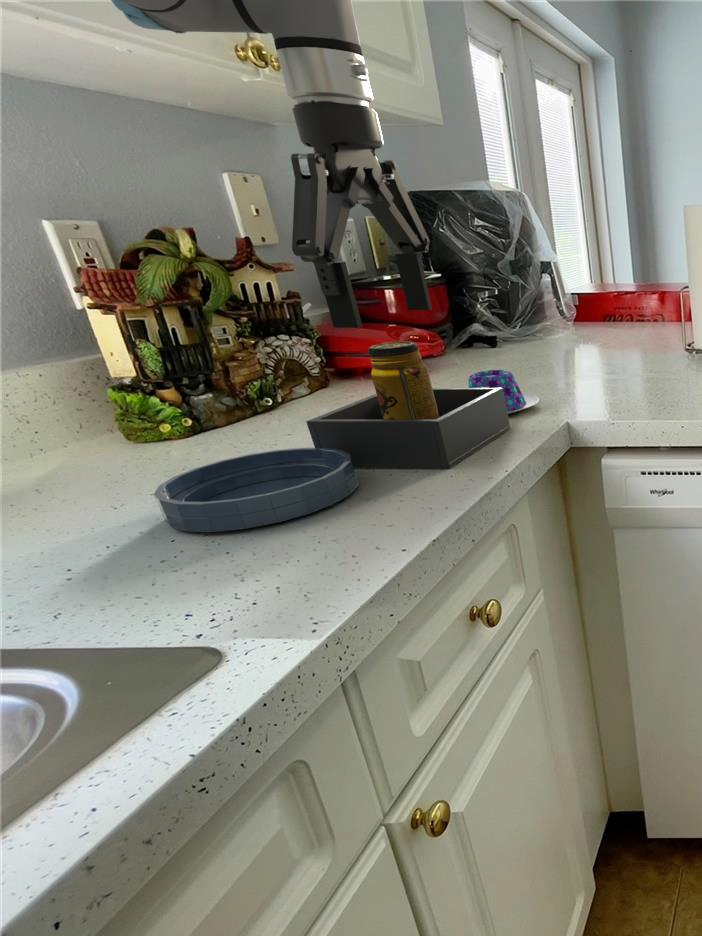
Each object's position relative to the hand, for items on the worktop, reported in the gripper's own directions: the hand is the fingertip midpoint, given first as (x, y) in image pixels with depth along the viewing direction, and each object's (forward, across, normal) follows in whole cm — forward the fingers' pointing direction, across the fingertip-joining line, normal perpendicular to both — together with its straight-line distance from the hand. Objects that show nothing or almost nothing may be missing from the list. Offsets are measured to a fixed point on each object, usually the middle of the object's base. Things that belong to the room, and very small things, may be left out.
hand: (387, 318), depth 82 cm
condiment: (+15, +1, 0) cm, 15 cm away
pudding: (+16, +18, -1) cm, 24 cm away
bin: (+16, 0, 0) cm, 16 cm away
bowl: (+16, -18, +6) cm, 24 cm away
